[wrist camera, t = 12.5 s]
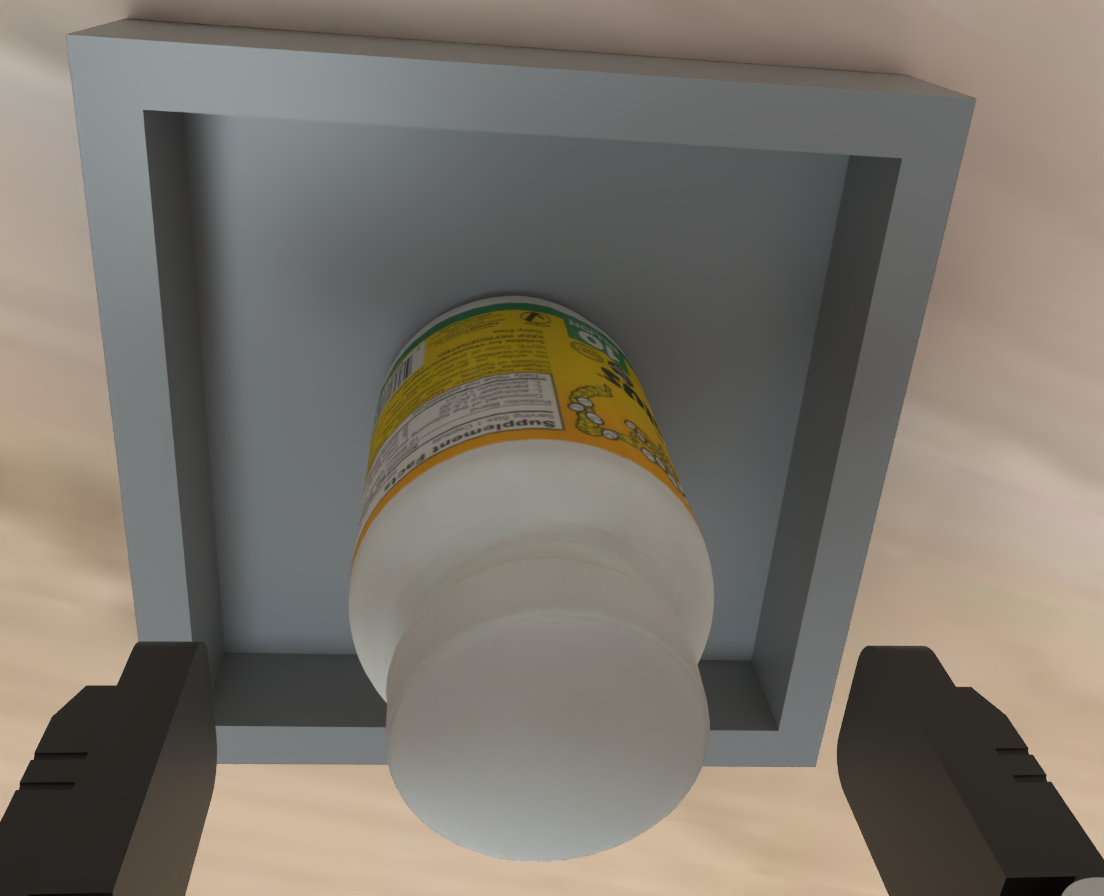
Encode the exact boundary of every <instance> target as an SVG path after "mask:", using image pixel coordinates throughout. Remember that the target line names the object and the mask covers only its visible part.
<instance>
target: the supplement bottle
mask: <svg viewBox="0 0 1104 896" xmlns="http://www.w3.org/2000/svg"><path fill="white" fill-rule="evenodd" d="M713 609H714V584H713V576H712V569H711V563H710V559H709V554H708V551H707V548H706V544H705V542H704V539H703V537H702V535H701V532H700V530H699V527H698V525H697V523H696V520H695V518H694V515H693V513H692V510H691V508H690V505H689V503H688V500H687V497H686V495H685V492H684V490H683V488H682V485H681V483H680V480H679V478H678V476H677V473H676V470H675V468H674V465H673V463H672V461H671V458H670V455H669V453H668V450H667V447H666V444H665V442H664V440H663V438H662V436H661V433H660V430H659V427H658V425H657V422H656V420H655V417H654V415H653V412H652V410H651V408H650V405H649V403H648V401H647V398H646V396H645V393H644V391H643V388H642V385H641V383H640V381H639V378H638V376H637V374H636V372H635V370H634V368H633V366H632V365H631V363H630V361H629V359H628V358H627V356H626V355H625V353H624V352H623V351H622V349H621V348H620V347H619V346H618V345H617V344H616V342H615V341H614V340H612V339H611V338H610V337H609V336H608V335H607V334H606V333H605V332H603V331H602V330H601V329H600V328H598V327H597V326H596V325H594V324H593V323H591V322H590V321H588V320H587V319H585V318H584V317H582V316H581V315H579V314H578V313H576V312H574V311H572V310H570V309H568V308H566V307H564V306H561V305H559V304H556V303H553V302H549V301H546V300H543V299H539V298H533V297H528V296H500V297H493V298H487V299H482V300H478V301H474V302H471V303H468V304H465V305H462V306H459V307H457V308H454V309H452V310H450V311H448V312H446V313H444V314H442V315H440V316H439V317H437V318H436V319H434V320H433V321H431V322H430V323H429V324H427V325H426V326H425V327H424V328H422V329H421V330H420V331H419V332H418V333H417V334H416V335H415V336H413V337H412V338H411V340H410V341H409V342H408V343H407V344H406V345H405V346H404V348H403V349H402V350H401V351H400V353H399V354H398V356H397V357H396V359H395V360H394V362H393V364H392V365H391V367H390V369H389V371H388V373H387V376H386V378H385V380H384V383H383V386H382V389H381V392H380V396H379V400H378V405H377V409H376V415H375V420H374V424H373V432H372V437H371V443H370V451H369V459H368V466H367V473H366V479H365V487H364V492H363V497H362V504H361V508H360V516H359V522H358V529H357V536H356V543H355V549H354V555H353V561H352V567H351V577H350V589H349V621H350V627H351V633H352V638H353V642H354V645H355V649H356V652H357V655H358V657H359V660H360V662H361V665H362V667H363V669H364V671H365V673H366V674H367V676H368V678H369V679H370V681H371V683H372V684H373V686H374V687H375V689H376V690H377V692H378V693H379V694H380V696H381V697H382V698H383V699H384V701H385V702H386V703H387V716H386V753H387V760H388V765H389V769H390V773H391V776H392V778H393V780H394V783H395V785H396V787H397V789H398V791H399V793H400V794H401V796H402V798H403V799H404V801H405V803H406V804H407V806H408V807H409V808H410V809H411V811H412V812H413V813H414V814H415V815H416V816H417V817H418V818H419V819H420V820H421V821H422V822H423V823H425V824H426V825H427V826H428V827H429V828H430V829H432V830H433V831H435V832H437V833H438V834H440V835H441V836H442V837H444V838H446V839H448V840H450V841H451V842H453V843H455V844H457V845H459V846H462V847H465V848H467V849H470V850H472V851H475V852H478V853H482V854H485V855H488V856H491V857H495V858H500V859H508V860H520V861H555V860H567V859H573V858H578V857H583V856H589V855H592V854H595V853H599V852H602V851H605V850H608V849H610V848H613V847H616V846H618V845H620V844H622V843H624V842H627V841H629V840H631V839H633V838H634V837H636V836H638V835H639V834H641V833H643V832H645V831H647V830H648V829H650V828H651V827H653V826H654V825H655V824H657V823H658V822H659V821H660V820H662V819H663V818H664V817H665V816H667V815H668V814H670V813H671V812H672V811H673V810H674V809H675V808H676V807H677V805H678V804H679V803H680V801H681V800H682V799H683V798H684V796H685V795H686V794H687V793H688V791H689V790H690V788H691V787H692V785H693V784H694V782H695V780H696V778H697V776H698V774H699V772H700V770H701V768H702V766H703V763H704V760H705V757H706V753H707V747H708V742H709V734H710V720H709V712H708V705H707V699H706V695H705V691H704V688H703V684H702V680H701V676H700V673H699V669H698V665H697V664H698V662H699V660H700V658H701V656H702V653H703V651H704V649H705V646H706V643H707V639H708V636H709V632H710V628H711V624H712V617H713Z"/></svg>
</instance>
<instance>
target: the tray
mask: <svg viewBox="0 0 1104 896" xmlns="http://www.w3.org/2000/svg"><path fill="white" fill-rule="evenodd" d="M66 39H67V47H68V55H69V64H70V72H71V80H72V89H73V97H74V105H75V114H76V122H77V130H78V139H79V147H80V156H81V164H82V172H83V181H84V189H85V197H86V206H87V214H88V222H89V231H90V239H91V247H92V256H93V264H94V272H95V281H96V289H97V297H98V306H99V314H100V323H101V331H102V339H103V348H104V356H105V364H106V373H107V381H108V389H109V398H110V406H111V414H112V423H113V431H114V439H115V448H116V456H117V465H118V473H119V481H120V490H121V498H122V506H123V515H124V523H125V531H126V540H127V548H128V556H129V565H130V573H131V581H132V590H133V598H134V606H135V615H136V623H137V632H138V640H139V642H140V641H189V642H204V643H205V645H206V647H207V651H208V657H209V667H210V677H211V687H212V697H213V707H214V717H215V726H216V736H217V764H358V765H388V760H387V753H386V716H387V703H386V702H385V701H384V699H383V698H382V697H381V696H380V694H379V693H378V692H377V690H376V689H375V687H374V686H373V684H372V683H371V681H370V679H369V678H368V676H367V674H366V673H365V671H364V669H363V667H362V665H361V662H360V660H359V657H358V655H357V652H356V649H355V645H354V642H353V638H352V633H351V627H350V621H349V589H350V577H351V567H352V561H353V555H354V549H355V543H356V536H357V529H358V522H359V516H360V508H361V504H362V497H363V492H364V487H365V479H366V473H367V466H368V459H369V451H370V443H371V437H372V432H373V424H374V420H375V415H376V409H377V405H378V400H379V396H380V392H381V389H382V386H383V383H384V380H385V378H386V376H387V373H388V371H389V369H390V367H391V365H392V364H393V362H394V360H395V359H396V357H397V356H398V354H399V353H400V351H401V350H402V349H403V348H404V346H405V345H406V344H407V343H408V342H409V341H410V340H411V338H412V337H413V336H415V335H416V334H417V333H418V332H419V331H420V330H421V329H422V328H424V327H425V326H426V325H427V324H429V323H430V322H431V321H433V320H434V319H436V318H437V317H439V316H440V315H442V314H444V313H446V312H448V311H450V310H452V309H454V308H457V307H459V306H462V305H465V304H468V303H471V302H474V301H478V300H482V299H487V298H493V297H500V296H528V297H533V298H539V299H543V300H546V301H549V302H553V303H556V304H559V305H561V306H564V307H566V308H568V309H570V310H572V311H574V312H576V313H578V314H579V315H581V316H582V317H584V318H585V319H587V320H588V321H590V322H591V323H593V324H594V325H596V326H597V327H598V328H600V329H601V330H602V331H603V332H605V333H606V334H607V335H608V336H609V337H610V338H611V339H612V340H614V341H615V342H616V344H617V345H618V346H619V347H620V348H621V349H622V351H623V352H624V353H625V355H626V356H627V358H628V359H629V361H630V363H631V365H632V366H633V368H634V370H635V372H636V374H637V376H638V378H639V381H640V383H641V385H642V388H643V391H644V393H645V396H646V398H647V401H648V403H649V405H650V408H651V410H652V412H653V415H654V417H655V420H656V422H657V425H658V427H659V430H660V433H661V436H662V438H663V440H664V442H665V444H666V447H667V450H668V453H669V455H670V458H671V461H672V463H673V465H674V468H675V470H676V473H677V476H678V478H679V480H680V483H681V485H682V488H683V490H684V492H685V495H686V497H687V500H688V503H689V505H690V508H691V510H692V513H693V515H694V518H695V520H696V523H697V525H698V527H699V530H700V532H701V535H702V537H703V539H704V542H705V544H706V548H707V551H708V554H709V559H710V563H711V569H712V576H713V584H714V609H713V617H712V624H711V628H710V632H709V636H708V639H707V643H706V646H705V649H704V651H703V653H702V656H701V658H700V660H699V662H698V664H697V665H698V669H699V673H700V676H701V680H702V684H703V688H704V691H705V695H706V699H707V705H708V712H709V720H710V734H709V742H708V747H707V753H706V757H705V760H704V763H703V766H728V767H815V766H816V762H817V758H818V754H819V750H820V746H821V741H822V737H823V733H824V729H825V725H826V721H827V717H828V712H829V708H830V704H831V700H832V696H833V692H834V687H835V683H836V679H837V675H838V671H839V667H840V663H841V658H842V654H843V650H844V646H845V642H846V638H847V633H848V629H849V625H850V621H851V617H852V613H853V609H854V604H855V600H856V596H857V592H858V588H859V584H860V580H861V575H862V571H863V567H864V563H865V559H866V555H867V550H868V546H869V542H870V538H871V534H872V530H873V526H874V521H875V517H876V513H877V509H878V505H879V501H880V496H881V492H882V488H883V484H884V480H885V476H886V472H887V467H888V463H889V459H890V455H891V451H892V447H893V442H894V438H895V434H896V430H897V426H898V422H899V418H900V413H901V409H902V405H903V401H904V397H905V393H906V388H907V384H908V380H909V376H910V372H911V368H912V364H913V359H914V355H915V351H916V347H917V343H918V339H919V335H920V330H921V326H922V322H923V318H924V314H925V310H926V305H927V301H928V297H929V293H930V289H931V285H932V281H933V276H934V272H935V268H936V264H937V260H938V256H939V251H940V247H941V243H942V239H943V235H944V231H945V227H946V222H947V218H948V214H949V210H950V206H951V202H952V197H953V193H954V189H955V185H956V181H957V177H958V173H959V168H960V164H961V160H962V156H963V152H964V148H965V143H966V139H967V135H968V131H969V127H970V123H971V119H972V114H973V110H974V106H975V102H976V98H973V97H970V96H967V95H964V94H961V93H958V92H955V91H952V90H949V89H946V88H943V87H940V86H937V85H934V84H931V83H928V82H926V81H923V80H920V79H917V78H914V77H911V76H908V75H899V74H885V73H871V72H858V71H844V70H830V69H816V68H802V67H788V66H774V65H761V64H747V63H733V62H719V61H705V60H691V59H677V58H663V57H650V56H636V55H622V54H608V53H594V52H580V51H566V50H553V49H539V48H525V47H511V46H497V45H483V44H469V43H455V42H442V41H428V40H414V39H400V38H386V37H372V36H358V35H345V34H331V33H317V32H303V31H289V30H275V29H261V28H248V27H234V26H220V25H206V24H192V23H178V22H164V21H150V20H137V19H122V20H119V21H115V22H111V23H107V24H104V25H100V26H96V27H92V28H89V29H85V30H81V31H78V32H74V33H70V34H66Z"/></svg>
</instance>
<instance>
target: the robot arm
mask: <svg viewBox="0 0 1104 896" xmlns="http://www.w3.org/2000/svg"><path fill="white" fill-rule="evenodd" d="M216 765H217V736H216V726H215V717H214V707H213V697H212V687H211V677H210V667H209V657H208V651H207V647H206V645H205V643H204V642H189V641H140V642H138V643H136V645H135V646H134V648H133V650H132V652H131V654H130V656H129V659H128V661H127V663H126V666H125V668H124V670H123V673H122V675H121V677H120V680H119V682H118V684H117V686H86V687H84V688H83V689H82V690H81V691H80V692H79V693H78V694H77V695H76V696H75V697H73V698H72V699H71V700H70V701H69V702H68V703H67V704H66V705H65V706H64V707H62V708H61V709H60V710H59V711H58V712H57V713H56V714H55V715H54V716H53V717H52V718H51V720H50V722H49V724H48V726H47V728H46V730H45V732H44V734H43V737H42V739H41V741H40V743H39V745H38V747H37V749H36V751H35V756H34V760H31V761H30V763H29V765H28V767H27V769H26V771H25V773H24V775H23V777H22V779H21V781H20V788H19V790H16V791H15V793H14V795H13V797H12V799H11V801H10V803H9V805H8V808H7V810H6V812H5V814H4V816H3V818H2V820H1V822H0V896H185V894H186V890H187V886H188V882H189V879H190V875H191V871H192V868H193V864H194V860H195V857H196V853H197V849H198V846H199V842H200V838H201V834H202V831H203V827H204V823H205V820H206V816H207V812H208V809H209V805H210V801H211V798H212V793H213V789H214V783H215V776H216ZM837 765H838V773H839V778H840V782H841V786H842V789H843V791H844V794H845V796H846V798H847V801H848V803H849V805H850V807H851V810H852V812H853V814H854V817H855V819H856V821H857V823H858V826H859V828H860V830H861V833H862V835H863V837H864V839H865V842H866V844H867V846H868V849H869V851H870V853H871V855H872V858H873V860H874V862H875V865H876V867H877V869H878V871H879V874H880V876H881V878H882V881H883V883H884V885H885V887H886V890H887V892H888V894H889V896H1104V859H1103V858H1102V856H1101V855H1100V853H1099V852H1098V850H1097V849H1096V847H1095V846H1094V844H1093V843H1092V842H1091V840H1090V839H1089V837H1088V836H1087V834H1086V833H1085V831H1084V830H1083V828H1082V827H1081V825H1080V824H1079V822H1078V821H1077V819H1076V818H1075V816H1074V815H1073V813H1072V812H1071V811H1070V809H1069V808H1068V806H1067V805H1066V803H1065V802H1064V800H1063V799H1062V797H1061V796H1060V794H1059V793H1058V791H1057V790H1056V788H1055V787H1054V785H1053V784H1052V782H1047V780H1046V774H1045V772H1044V771H1043V769H1042V768H1041V766H1040V765H1039V763H1038V762H1037V760H1036V759H1035V757H1034V756H1033V755H1029V753H1028V747H1027V746H1026V744H1025V743H1024V741H1023V740H1022V738H1021V737H1020V735H1019V734H1018V732H1017V731H1016V729H1015V728H1014V726H1013V725H1012V723H1011V722H1010V720H1009V719H1008V718H1007V716H1006V715H1005V714H1004V713H1002V712H1001V711H1000V710H999V709H997V708H996V707H995V706H994V705H993V704H991V703H990V702H989V701H988V700H986V699H985V698H984V697H983V696H981V695H980V694H979V693H978V692H976V691H975V690H974V689H973V688H972V687H956V686H955V685H954V683H953V682H952V680H951V678H950V677H949V675H948V674H947V672H946V671H945V669H944V668H943V666H942V664H941V663H940V661H939V660H938V658H937V657H936V655H935V654H934V652H933V651H932V650H931V649H930V648H928V647H926V646H867V647H865V648H864V649H863V650H862V652H861V653H860V656H859V658H858V662H857V666H856V670H855V674H854V678H853V681H852V685H851V689H850V693H849V697H848V701H847V705H846V709H845V713H844V717H843V721H842V725H841V729H840V733H839V738H838V744H837Z"/></svg>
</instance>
